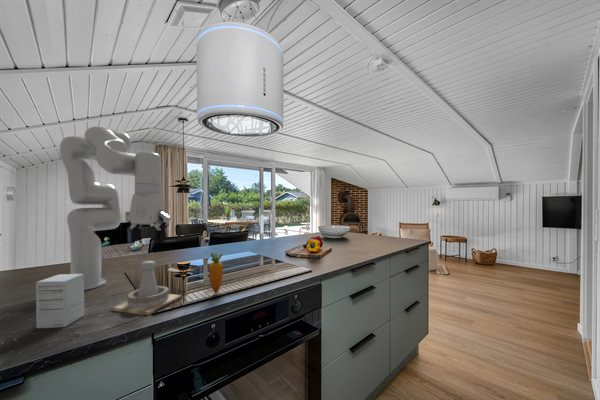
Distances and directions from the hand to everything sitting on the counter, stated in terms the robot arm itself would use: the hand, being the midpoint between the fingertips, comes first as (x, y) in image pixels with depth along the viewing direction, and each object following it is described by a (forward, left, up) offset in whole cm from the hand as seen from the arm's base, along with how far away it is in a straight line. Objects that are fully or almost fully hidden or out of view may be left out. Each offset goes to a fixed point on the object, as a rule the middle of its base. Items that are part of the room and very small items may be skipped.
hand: (148, 241), depth 84 cm
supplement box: (-13, -17, -21) cm, 30 cm away
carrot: (+16, +14, -21) cm, 30 cm away
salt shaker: (0, 0, -20) cm, 20 cm away
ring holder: (0, 0, -21) cm, 21 cm away
